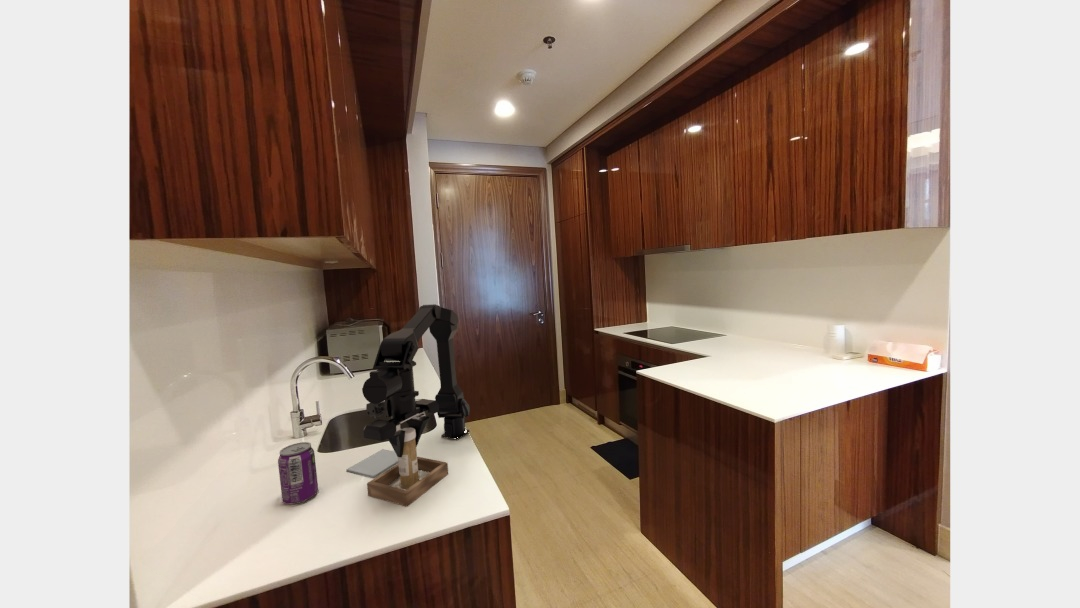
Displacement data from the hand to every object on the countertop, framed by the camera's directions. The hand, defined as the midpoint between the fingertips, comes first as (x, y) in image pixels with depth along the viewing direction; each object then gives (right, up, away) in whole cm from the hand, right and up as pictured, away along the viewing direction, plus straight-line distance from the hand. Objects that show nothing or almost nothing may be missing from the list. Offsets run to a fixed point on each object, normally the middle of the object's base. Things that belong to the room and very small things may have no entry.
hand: (407, 452), depth 89 cm
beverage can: (-24, -10, -2) cm, 26 cm away
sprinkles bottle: (0, -8, +1) cm, 8 cm away
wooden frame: (0, -8, +1) cm, 8 cm away
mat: (-12, -8, +12) cm, 19 cm away
